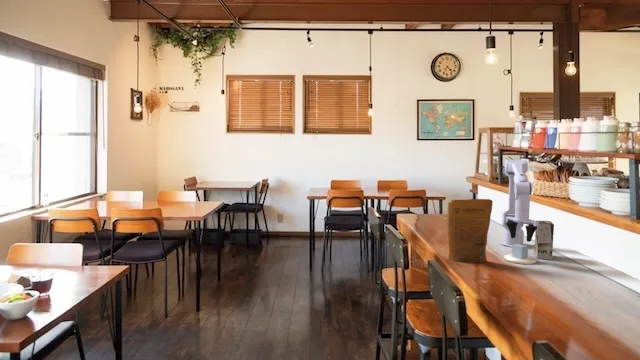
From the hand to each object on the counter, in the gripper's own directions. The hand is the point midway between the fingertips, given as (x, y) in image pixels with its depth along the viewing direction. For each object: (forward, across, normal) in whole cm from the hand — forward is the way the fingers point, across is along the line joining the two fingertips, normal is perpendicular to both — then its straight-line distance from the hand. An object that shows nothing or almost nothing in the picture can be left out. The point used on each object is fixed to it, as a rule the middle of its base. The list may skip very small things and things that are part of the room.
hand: (520, 239), depth 186 cm
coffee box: (+10, +2, +14) cm, 17 cm away
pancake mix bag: (+10, -11, -21) cm, 26 cm away
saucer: (+9, 0, 0) cm, 9 cm away
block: (+8, 0, 0) cm, 8 cm away
